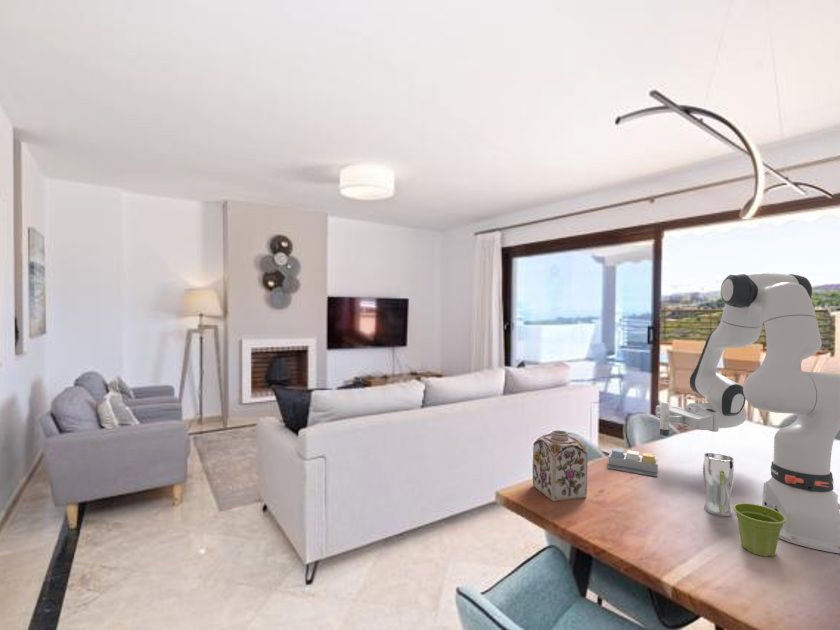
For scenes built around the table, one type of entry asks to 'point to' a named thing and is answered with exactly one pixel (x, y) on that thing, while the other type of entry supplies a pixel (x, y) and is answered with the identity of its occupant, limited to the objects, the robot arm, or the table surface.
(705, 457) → the beer glass
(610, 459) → the keypad
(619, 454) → the key slate
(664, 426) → the white rounded cylinder
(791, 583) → the table surface
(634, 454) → the key white
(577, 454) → the decorative jar
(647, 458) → the key amber
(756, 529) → the plant pot
